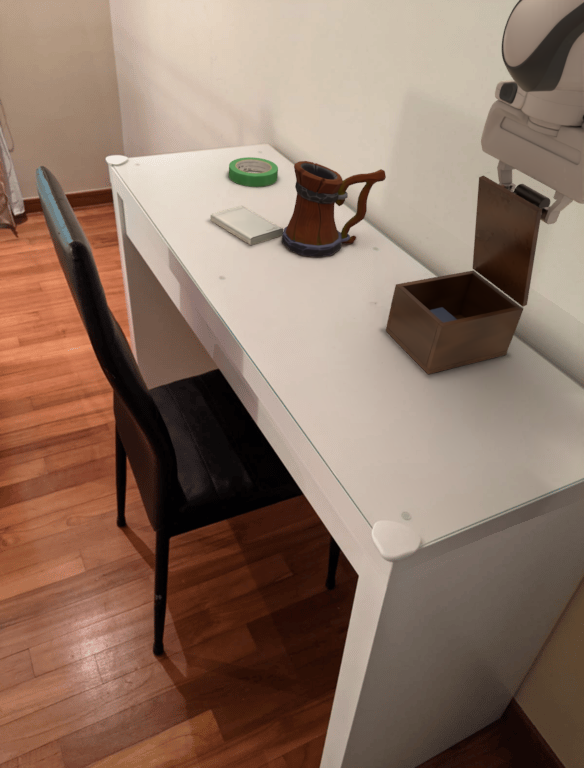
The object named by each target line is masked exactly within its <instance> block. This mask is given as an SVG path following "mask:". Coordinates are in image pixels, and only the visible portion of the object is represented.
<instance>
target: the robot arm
mask: <svg viewBox="0 0 584 768" xmlns="http://www.w3.org/2000/svg"><path fill="white" fill-rule="evenodd" d="M501 57H502V61H503V64H504V66H505V68H506V70H507V72H508V73H509V76H510V77H511V78H512V79H506V80H500V81H499V82H497V84H496V87H495V91H494V97H495V99H496V100H495V101H494V102H493V103H492V104H491V106H490V108H489V111H488V112H487V116H486V119H485V122H484V125H483V130H482V132H481V133H482V134H481V138H480V145H481V150H482V152H483V153H485V154H487V155H489V156H491V157H492V158H494V159H497V160H498V163H497V167H496V169H497V178H498V184H499V185H501V186H502V187H504V188H506V189H508V190H509V191H511V192H514V189H515V188H516V187H517V185H516V184H515V183H513V170H517V171H518V172H520V173H523V174H524V175H526V176H528V177H530V179H533V180H535V181H537V182H539V183H540V184H543V185H544V186H545V187H548V188H550V189H551V190H554V191H555V192H554V194H553V197H552V198H553V199H554V200H555V201H554V202H553V203H552V204H550V205H549V207H543V209H542V213H541V219H540V221H541V222H543V223H544V224H547V225H554V224H556V223H557V221H558V219H559V217H560V214H561V212H562V211H563V210H564V209H566V208H567V207H568V206H569V205H570V204H571V203H573V201H574V202H576V203H578V204H580V205H584V0H518V1H517V2H516V3H515V5H514V6H513V8H512V10H511V11H510V13H509V16H508V17H507V20H506V23H505V26H504V29H503V34H502V38H501Z"/></svg>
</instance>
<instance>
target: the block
mask: <svg viewBox="0 0 584 768" xmlns="http://www.w3.org/2000/svg"><path fill="white" fill-rule="evenodd" d="M430 311H431V312H432V313H433V314H434V315H435V316H436V317H438V318H439V319H440V320H441V321H442V322H443V323H444V322H449V321H453V320H457V319H456V318H455V317H453V316H452V315H451V314H450V313H449V312H448V311H446V310H445V309H444V308H443V307H441V308H437V309H432V310H430Z"/></svg>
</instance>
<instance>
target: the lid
mask: <svg viewBox="0 0 584 768" xmlns="http://www.w3.org/2000/svg"><path fill="white" fill-rule="evenodd" d="M477 187H478V188H477V200H476V214H475V228H474V240H473V241H474V243H473V256H472V257H473V258H472V270H473V271H475V272H476V273H477V274H479V275H480V276H481V277H483V278H484V279H485V280H487V281H488V282H489V283H490V284H492V285H493V286H494V287H496V288H497V289H498V290H500V291H501V292H502V293H504V294H505V295H506V296H508V297H509V298H510V299H511V300H513V301H514V302H515V303H517V304H518V305H519V306H521V307H522V308H524V307H525V306H527V305H528V303H529V302H528V300H529V295H530V289H531V282H532V275H533V268H534V263H535V257H536V250H537V244H538V239H539V238H538V237H539V231H540V225H541V220H540V219H541V213H542V209H543V207H550V206H551V199H550V197H547V196H546V195H544V194H543V193H540V192H539V191H537V190H535V189H533V188H531V187H530V186H528V185H526V184H524V183H519V184H518V185H516V186H515V189H514V190H513V192H511V191H509V190H508V189H506V188H504V187H502V186H501V185H499V183H497V182H496V181H493V179H491V178H489V177H487V176H486V175H480V176H478V185H477Z"/></svg>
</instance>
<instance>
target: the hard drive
mask: <svg viewBox="0 0 584 768" xmlns="http://www.w3.org/2000/svg"><path fill="white" fill-rule="evenodd" d="M209 216H210V220H209V221H211V222H212V223H214V224H216V225H217V226H219V227H220V228H222V229H224V230H225V231H226V232H228V233H230V234H232V235H233V236H235V237H237V238H238V239H240V240H241V241H243V242H245V243H246V244H248V245H250V246H253V245H256V244H260V243H263V242H267V241H269V240H272V239H275V238H278V237H282V235H283V231H284V228H282V226H279V225H277V224H275V223H274V222H272V221H270V220H269V219H267V218H265V217H263V216H262V215H260V214H258V213H256V212H255V211H253V210H251V209H249V208H248V207H246V206H244V205H239V206H235V207H231V208H228V209H224V210H220V211H217V212H213V213H211V214H210V215H209Z"/></svg>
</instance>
